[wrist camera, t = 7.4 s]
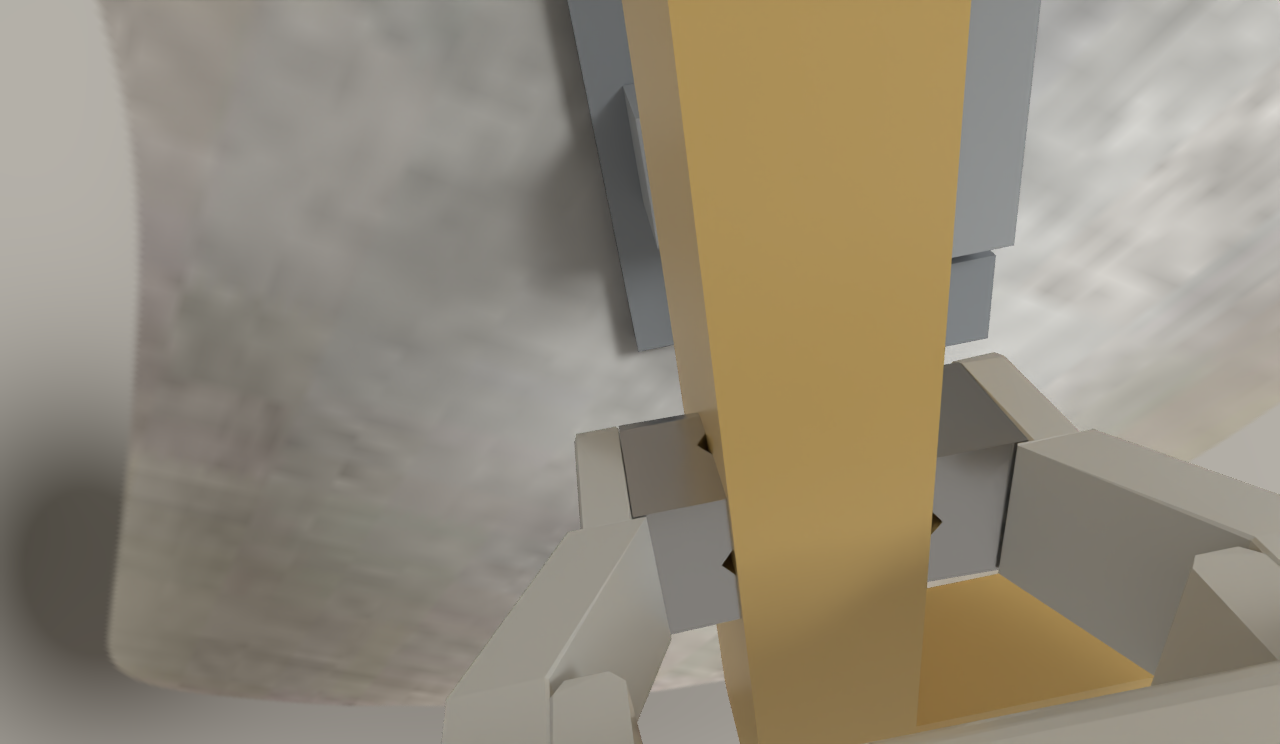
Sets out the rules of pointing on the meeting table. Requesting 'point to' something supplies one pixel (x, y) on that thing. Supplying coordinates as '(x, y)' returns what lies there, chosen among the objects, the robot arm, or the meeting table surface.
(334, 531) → the meeting table surface
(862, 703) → the yellow c-shaped bracket
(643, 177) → the grey block fixture base
